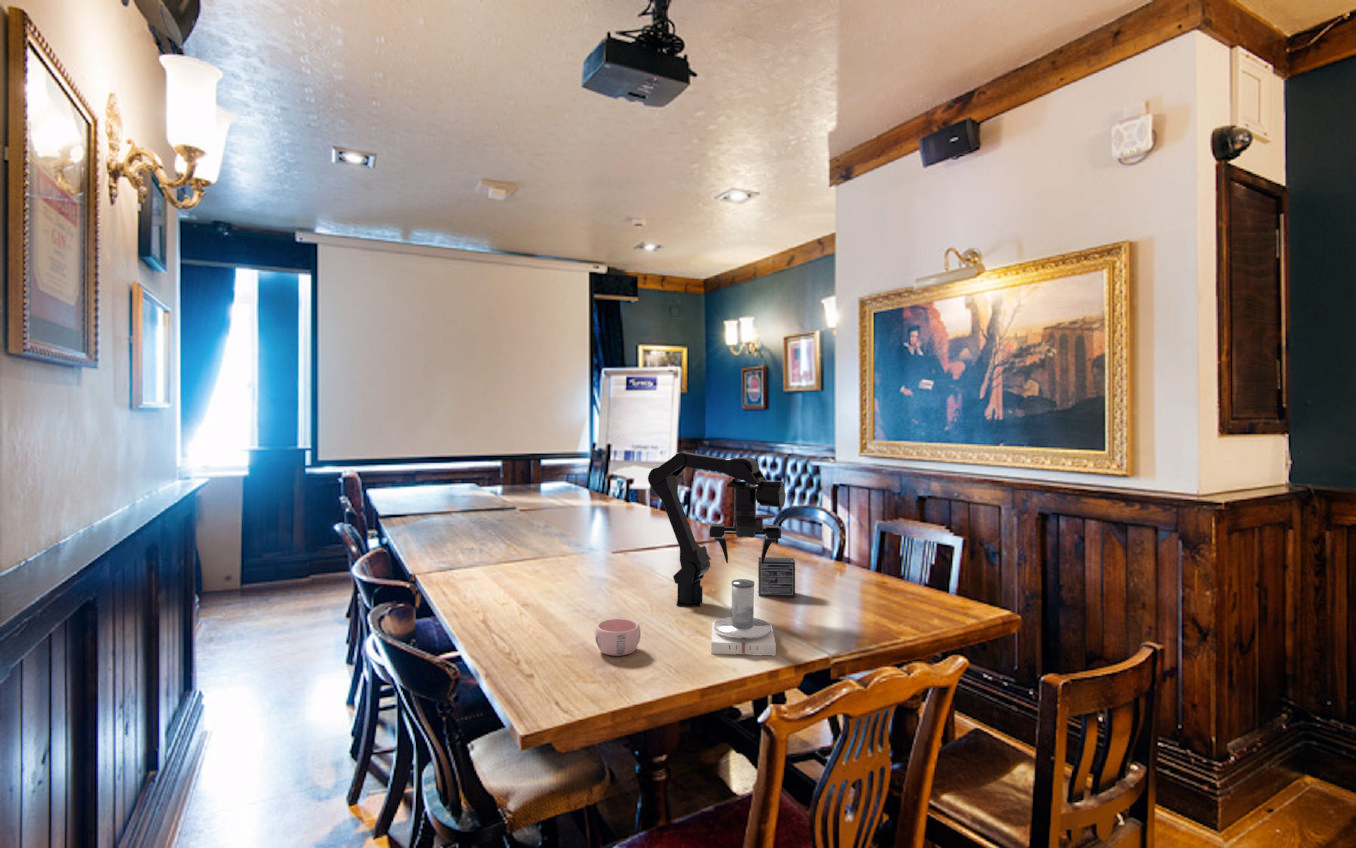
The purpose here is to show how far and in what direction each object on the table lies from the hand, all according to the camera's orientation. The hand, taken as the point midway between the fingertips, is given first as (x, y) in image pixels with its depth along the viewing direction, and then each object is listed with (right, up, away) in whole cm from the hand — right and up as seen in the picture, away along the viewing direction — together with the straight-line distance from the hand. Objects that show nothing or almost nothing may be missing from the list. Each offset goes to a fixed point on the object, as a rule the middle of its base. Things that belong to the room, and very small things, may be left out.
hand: (744, 563), depth 172 cm
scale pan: (-3, -13, -24) cm, 28 cm away
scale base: (-3, -13, -24) cm, 27 cm away
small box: (+11, -13, +17) cm, 25 cm away
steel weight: (-3, -9, -24) cm, 26 cm away
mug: (-31, -13, -29) cm, 44 cm away
